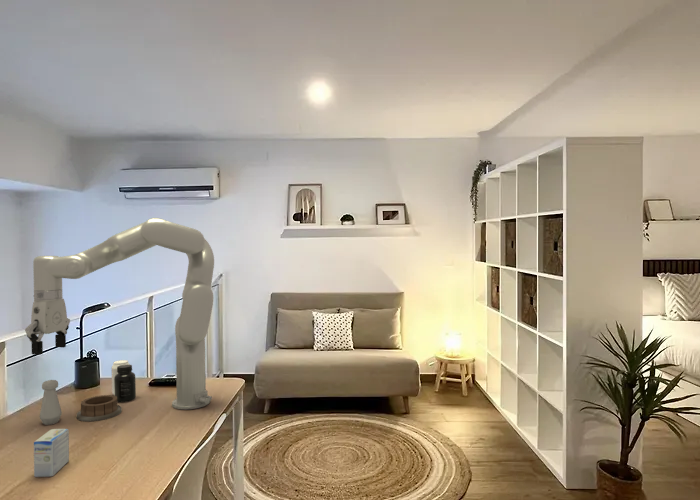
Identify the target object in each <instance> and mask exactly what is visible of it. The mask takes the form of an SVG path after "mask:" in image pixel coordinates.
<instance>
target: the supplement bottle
mask: <svg viewBox="0 0 700 500" xmlns="http://www.w3.org/2000/svg"><path fill="white" fill-rule="evenodd" d="M117 372H118V374H116V375H115V377H114V389H115V395H114V396H117V403H128V402H132V401H134V400H135V399H136V397H137V393H136V392H137V389H136V388H137V387H136V385H137V384H136V374H135V373H134V372H133V365H132V364H130V365H121V366H118V367H117Z"/></svg>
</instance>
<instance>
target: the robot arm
mask: <svg viewBox="0 0 700 500" xmlns="http://www.w3.org/2000/svg"><path fill="white" fill-rule="evenodd" d="M156 246H159V247H161V248H165V249H169V250H173V251H176V252H180V253H183V254H186V256H187V258H188V265H187V270H186V271H187V272H186V278H185V282H184V287H183V290H182V293H181V297H182V298H181V299H182V302H181V303H182V304H181V309H180V315H179V317H178V318H177V319H176V321H175V325H174V326H175V328H174V329H175V330H174V331H175V334H174V335H175V359H176V360H175V365H176V368H175V370H176V371H175V374H176V375H175V376H176V398H175V399H173V400H172V402H171V407H172V408H174V409H176V410H184V411H185V410H195V409H200V408H203V407H206V406H207V405H209V404H210V403H211V401H212V400H213V397H212V396H211V395H208V390H207V389H206V387H207V386H206V384H207V383H206V379H207V378H206V336H207V335H208V330H209V326H210V320H211V317H212V310H213V306H214V293H213V291H212V283H213V282H212V281H213V278H214V277H213V275H214V268H215V255H214V252H213V249H212V246H211V245H210V243H209V241H208V240H207V239H206V238H205V236H204V234H203V233H202V232H201V231H199V230H198V229H196V228H193V227H188V226H185V225H182V224H178V223H175V222H173V221H168V220H166V219H163V218H159V217H151V218H149V219H146V221H144V222H141V223H139V224H137V225H135V226H133V227H129V228H127V229H126V230H123V231H121V232H119V233H116V234H114V235H112V236H110V237H108V238H107V239H106V240H104V241H103V242H101V243H98V244H97V245H94V246H92V247H90V248H88V249H85V250H83V251H81V252H78V253H75V254H70V255H66V256H64V255H63V256H58V255H40V256H38V255H37V256H35V257H34V259H33V261H32V262H33V263H32V264H33V265H32V268H33V269H32V270H33V302H32V307H31V318H30V319H31V320H30V321H31V322H30V324H29V325H28V326H26V327H25V329H24V331H25V333H26V337H27V338H28V339H29V342H31V354H32V355H37V356H38V355H39V356H40V355H43V354H44V351H43V350H44V349H43V347H44V345H43V343H44V342H43V340H42V338H43V337H44V335H47V334H48V335H49V334H53V333H55V341H54V342H55V346H54V347H55V348H66V346H67V338H66V335H67V334H68V330H69V325H70V323H71V319H70V318H68V314H67V306H66V301H65V299H64V298H63V279H68V280H69V279H70V280H77V279H81V278H83V277H85V276H87V275H89V274H92V273H93V272H96V271H98V270H100V269H103V268H105V267H107V266H110V265H112V264H115V263H117V262H121V261H124V260H127V259H129V258H131V257H133V256H135V255H138V254H139V253H140V254H141V253H142V252H145V251H146V250H149V249H151V248H153V247H156Z"/></svg>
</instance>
